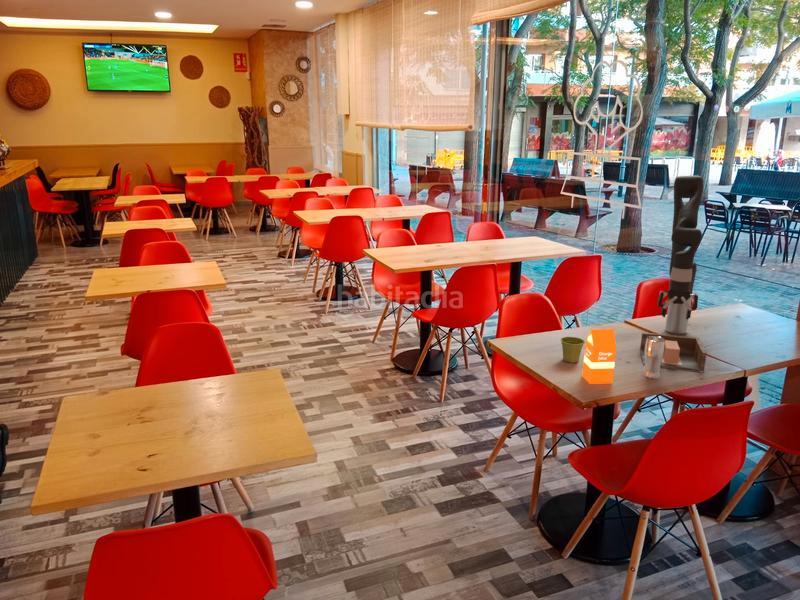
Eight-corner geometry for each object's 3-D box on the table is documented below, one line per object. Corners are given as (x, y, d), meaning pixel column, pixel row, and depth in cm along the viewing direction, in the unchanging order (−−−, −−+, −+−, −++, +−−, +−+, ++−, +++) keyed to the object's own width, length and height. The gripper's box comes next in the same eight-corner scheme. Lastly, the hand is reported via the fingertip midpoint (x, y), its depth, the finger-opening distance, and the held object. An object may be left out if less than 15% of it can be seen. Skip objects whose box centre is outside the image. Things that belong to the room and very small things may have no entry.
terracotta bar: (677, 363, 244) (679, 349, 242) (664, 362, 245) (666, 348, 244) (674, 354, 253) (676, 341, 252) (661, 353, 255) (663, 339, 253)
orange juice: (612, 383, 228) (618, 332, 222) (589, 384, 227) (594, 332, 222) (604, 375, 236) (609, 325, 230) (581, 375, 235) (586, 326, 229)
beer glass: (646, 370, 240) (651, 334, 236) (664, 375, 235) (669, 338, 231) (638, 375, 235) (642, 338, 231) (656, 380, 231) (661, 343, 226)
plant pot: (555, 356, 254) (557, 336, 251) (577, 355, 255) (579, 336, 252) (563, 365, 245) (565, 344, 242) (586, 364, 246) (588, 344, 243)
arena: (639, 350, 262) (642, 332, 259) (696, 355, 256) (698, 337, 253) (643, 365, 245) (645, 346, 243) (703, 372, 239) (706, 352, 237)
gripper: (662, 279, 239) (657, 319, 244) (702, 282, 235) (696, 322, 240) (660, 275, 246) (655, 313, 250) (699, 277, 242) (693, 316, 247)
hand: (675, 317), depth 245 cm, fingers open, 8 cm apart
